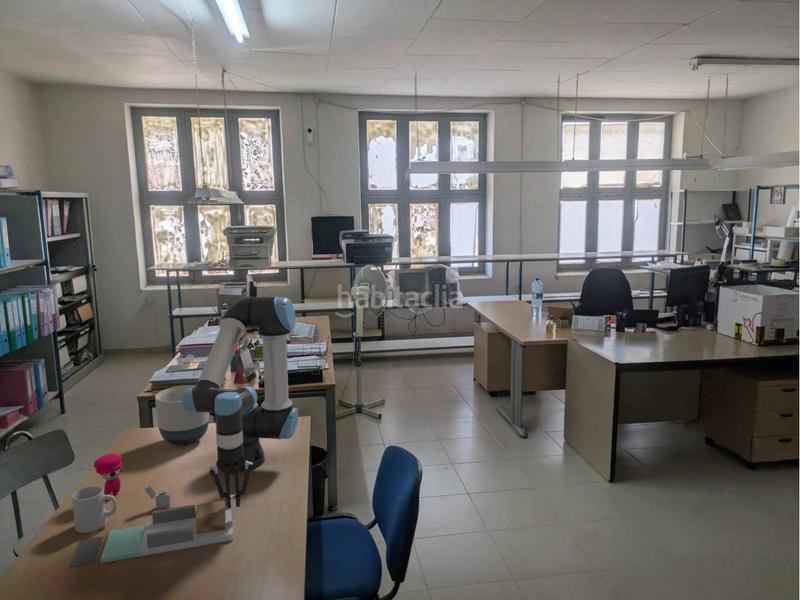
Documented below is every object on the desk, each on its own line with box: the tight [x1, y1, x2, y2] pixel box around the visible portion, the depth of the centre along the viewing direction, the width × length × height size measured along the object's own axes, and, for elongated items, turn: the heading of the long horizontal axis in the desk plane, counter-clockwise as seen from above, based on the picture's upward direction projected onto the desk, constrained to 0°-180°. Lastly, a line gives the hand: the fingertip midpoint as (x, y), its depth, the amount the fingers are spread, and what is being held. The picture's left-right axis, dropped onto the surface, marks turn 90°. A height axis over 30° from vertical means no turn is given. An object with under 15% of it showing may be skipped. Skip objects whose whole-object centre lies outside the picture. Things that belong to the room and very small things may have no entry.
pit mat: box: [67, 536, 104, 569], centre depth 155 cm, size 6×13×1 cm, turn 18°
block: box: [195, 500, 226, 534], centre depth 165 cm, size 8×8×5 cm
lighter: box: [144, 484, 171, 510], centre depth 178 cm, size 7×2×8 cm, turn 106°
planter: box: [154, 384, 210, 446], centre depth 226 cm, size 20×20×21 cm
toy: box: [93, 452, 123, 496], centre depth 183 cm, size 8×8×15 cm
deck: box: [139, 504, 234, 557], centre depth 163 cm, size 25×14×6 cm, turn 108°
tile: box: [100, 524, 146, 564], centre depth 158 cm, size 10×14×1 cm
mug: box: [71, 485, 118, 534], centre depth 168 cm, size 12×8×11 cm
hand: (234, 516), depth 167 cm, fingers closed
